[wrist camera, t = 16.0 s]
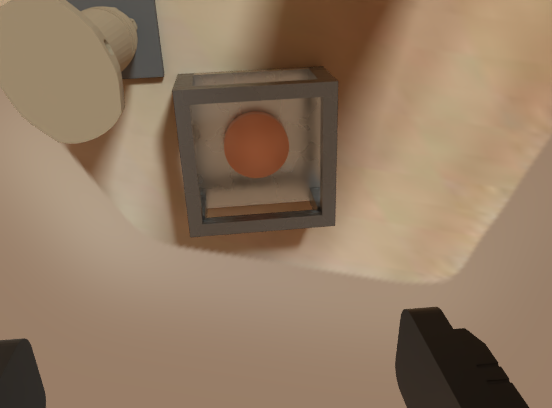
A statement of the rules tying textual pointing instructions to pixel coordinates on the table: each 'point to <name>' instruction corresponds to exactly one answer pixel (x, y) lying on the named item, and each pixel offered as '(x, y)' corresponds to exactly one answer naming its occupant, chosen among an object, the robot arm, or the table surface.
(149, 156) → the table surface
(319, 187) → the guard frame
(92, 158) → the table surface
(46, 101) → the handle
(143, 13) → the rubber mat
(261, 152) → the button
